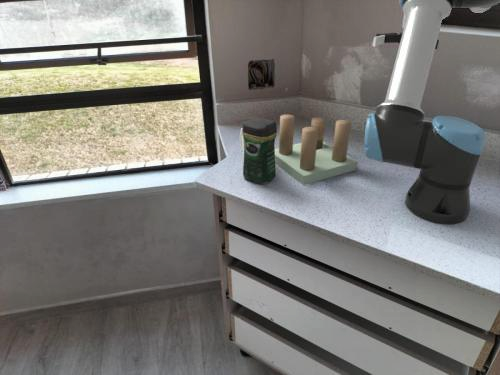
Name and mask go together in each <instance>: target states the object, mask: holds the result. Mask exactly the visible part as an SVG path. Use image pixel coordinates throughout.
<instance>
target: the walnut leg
mask: <svg viewBox="0 0 500 375" xmlns="http://www.w3.org/2000/svg"><path fill="white" fill-rule="evenodd" d="M325 126H326V119H325V118H323V117H319V116H317V117H312V118H311V123H310V127H314V128H317V129H318V137H317V147H316V150H318V149H322V147H323V142H324V135H325Z"/></svg>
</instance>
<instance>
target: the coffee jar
mask: <svg viewBox="0 0 500 375" xmlns="http://www.w3.org/2000/svg"><path fill="white" fill-rule="evenodd" d="M242 134H243V138H244V164H243V163H242V164H243V166H242V176H243V177H244V179H246V180H248V181H250V182H253V183H256V184H260V185H265V184H268V183H271V182H272V181H274V180H275V179H276V178H277V177H276V176H277V167H276V166H277V165H276V164H275V149H276V148H275V145H276V144H275V143H276V137H277V136H278V128H277V121H275V120H270V119H267V118H266V119H265V118H261V117H257V116H255V115H252V116H249V117H247V118H244V120H243V121H242Z"/></svg>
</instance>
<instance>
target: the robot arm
mask: <svg viewBox="0 0 500 375" xmlns="http://www.w3.org/2000/svg"><path fill="white" fill-rule="evenodd" d="M462 1H463V2H462ZM498 3H500V0H399V6H400V7H402V13H403V14H404V15H405V17H406V19H405V23H404V26H403V27H404V28H403V30H402V32H400V34H397V33H395V32H386V33H376V34H375V35H376V36H374V37H373V40H372V41H373V42H372V47H377V46H382V45H384V44H392V43H393V44H394V43H397V44H399V46H398V50H397V53H396V58H395V61H394V65H393V68H392V73H391V76H390V81H389V83H388V87H387V92H386V95H385V99H384V101H383V102H382V103H380V104H379V105H377V107H376V110H375V112H372V113H369V114H368V116H367V119H366V122H365V123H366V124H365V129H364V130H365V132H364V140H363V142H364V144H363V145H364V147H363V148H364V154H365V156H366V157H367V158H368V159H370V160H374V161H378V162H380V163H386V164H387V163H388V164H392V165H393V164H394V165H397V166H403V167H407V168H415V169H417V170H419V169H420V170H419V174H418V176H417V178H416V179H415V181H414V182H413V184H412V185H411V186H410V187H409V189H408V190H407V192H406V195H405V199H404V200H405V201H404V203H405V207H406V208H407V209H408V210H409V211H410V212H412V214H413V215H415V216H417V217H419V218H421V219H423V220H426V221H430V222H432V223H435V224H436V223H438V224H445V225H452V224H453V225H454V224H459V223H462V222H464V221H465V220H467V218H468V217H469V214H470V211H471V197H470V196H471V195H470V186H471V183H472V181H473V178H474V174H475V172H476V168H477V165H478V162H479V160H480V156H481V155H482V153H483V152H484V145H485V141H486V133H485V132H484V130H483V128H482V127H480V126H478V125H477V124H475V123H473V122H472V121H469V120H467V119H464V118H461V117H457V116H451V115H438V116H435V117H434V118H433V119H432V121H425V120H424V118H425V111H423V110H422V108H421V104H422V100H423V97H424V94H425V88H426V86H427V82H428V77H429V73H430V68H431V65H432V61H433V57H434V54H435V50H438V46H439V42H440V41H439V40H438V35H439V31H440V27H441V23H442V20H443V19H445V18H446V17H447V18H448V17H449V16H451V15H450V13H451V10H452V8H469V9H470V10H471V11H472V12H474V13H483V12H485V11H487V10H489V9H490V8H491V7H492V6H494V5H497V4H498ZM461 5H462V6H461Z"/></svg>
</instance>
